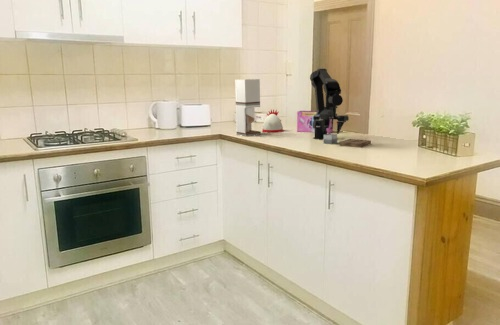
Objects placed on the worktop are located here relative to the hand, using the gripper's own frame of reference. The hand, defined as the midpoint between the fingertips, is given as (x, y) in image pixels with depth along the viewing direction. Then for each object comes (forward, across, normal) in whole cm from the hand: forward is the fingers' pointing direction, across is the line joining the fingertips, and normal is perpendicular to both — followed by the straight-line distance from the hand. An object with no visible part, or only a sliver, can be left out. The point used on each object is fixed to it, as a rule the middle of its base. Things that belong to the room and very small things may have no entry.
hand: (330, 133), depth 226 cm
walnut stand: (+5, +14, +2) cm, 15 cm away
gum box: (+6, -31, +36) cm, 48 cm away
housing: (+6, 0, 0) cm, 6 cm away
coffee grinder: (+6, -60, +2) cm, 60 cm away
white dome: (+6, -57, +24) cm, 62 cm away
